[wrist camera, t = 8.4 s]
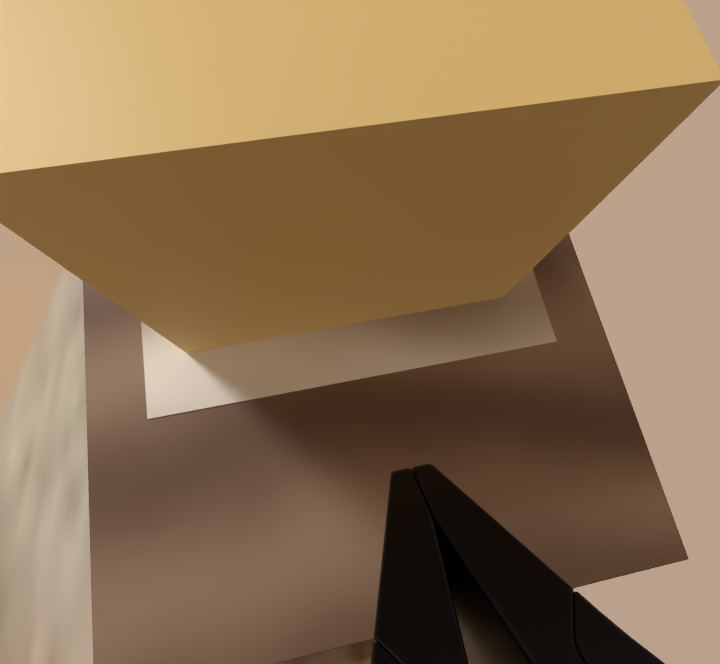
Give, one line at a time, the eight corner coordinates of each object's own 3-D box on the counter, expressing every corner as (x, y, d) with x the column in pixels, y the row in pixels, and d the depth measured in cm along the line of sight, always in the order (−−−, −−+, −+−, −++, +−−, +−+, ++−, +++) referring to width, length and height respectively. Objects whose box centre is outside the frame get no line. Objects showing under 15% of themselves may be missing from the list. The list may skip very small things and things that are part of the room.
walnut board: (662, 551, 16) (689, 559, 14) (115, 687, 14) (93, 710, 12) (476, 27, 22) (484, 2, 21) (91, 69, 20) (75, 44, 19)
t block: (503, 297, 17) (725, 79, 7) (186, 352, 15) (-60, 181, 6) (429, 57, 20) (513, -317, 10) (161, 87, 19) (-23, -303, 9)
